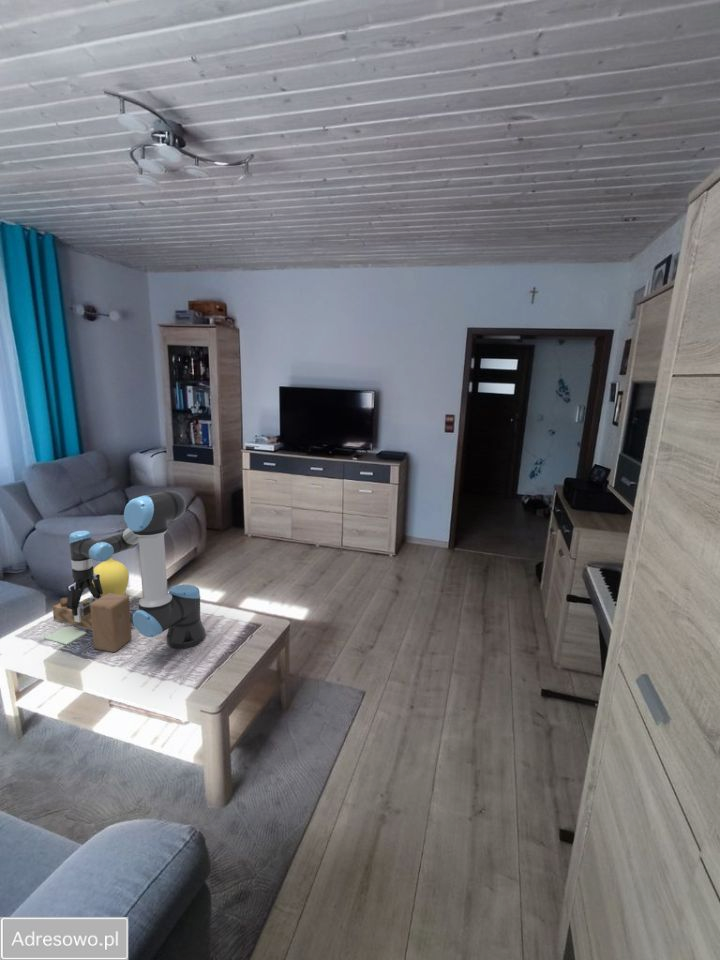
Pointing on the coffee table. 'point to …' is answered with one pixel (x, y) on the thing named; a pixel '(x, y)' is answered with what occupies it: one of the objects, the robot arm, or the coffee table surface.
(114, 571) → the vase
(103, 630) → the wooden block
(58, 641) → the felt mat
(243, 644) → the coffee table surface
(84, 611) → the lever cap
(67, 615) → the body
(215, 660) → the coffee table surface
